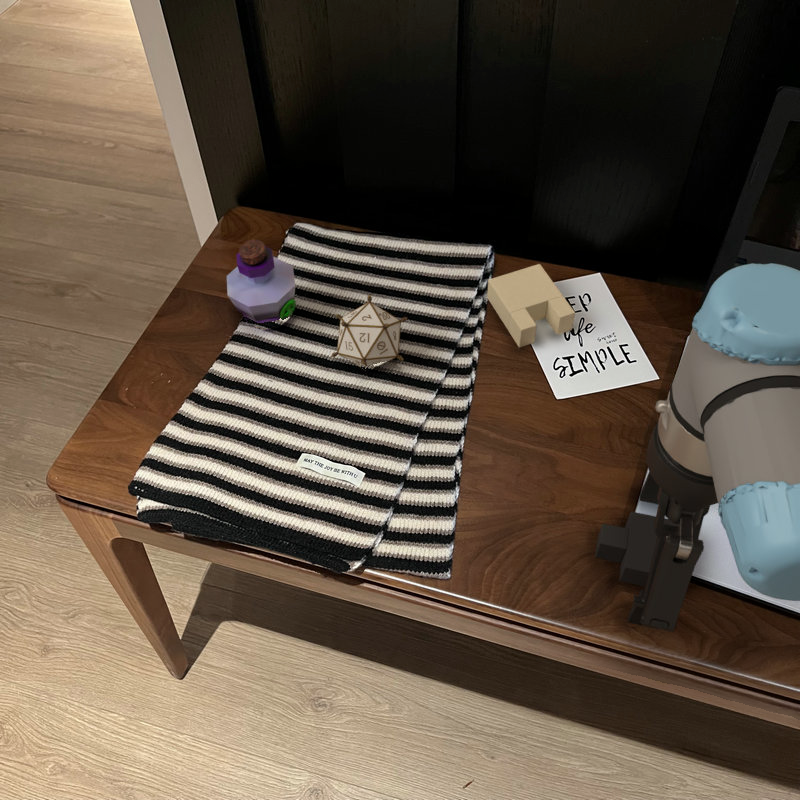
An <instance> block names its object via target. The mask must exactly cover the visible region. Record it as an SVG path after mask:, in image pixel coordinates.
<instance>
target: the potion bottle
mask: <svg viewBox="0 0 800 800" xmlns="http://www.w3.org/2000/svg"><path fill="white" fill-rule="evenodd" d="M226 291H227V293H226V294H227V297H228V299H229V300H230V301H231V303H232V304H233V306H234V307H235V309H236V310H237V311H238V313H240V314H242V316H243V317H244V318H245V317H247V318H249V319H251V320H253V321H255V322H257V323H264V322H269V321H276V320H279V319H280V318H281V319H282V320H284V319H286V318H288V317H289V316H290V315H291V316H292V315H293V313H294V312H295V311H296V304H297V302H296V300H295V293H296V281H295V272H294V266H293V265H292V264H290V263H287V262H285V261H283V260H282V259H279V258H278V257H275V256H274V253H273V249H272V248H270V247H268V246H266V244H265V242H263V240H260V239H255V238H254V239H250V240H247V241H245V242H243V243H242V244H241V246H240V247H239V248H238V253H236V267H235V268H234V269H233V270H232V271H230V272H229V273H228V274H227V275H226ZM245 320H246V321H247V319H246V318H245Z"/></svg>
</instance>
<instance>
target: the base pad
mask: <svg viewBox="0 0 800 800" xmlns="http://www.w3.org/2000/svg"><path fill="white" fill-rule="evenodd" d="M486 294H487V295H486V298H487V299H488V301H489V302H490V304H491V306H492V307H493V309H494V310H495V312H496V314H497V315H498V317H499V319H500V321H502V323H503V325H504V326H505V328H506V329H507V331H508V333H509V334H510V335H511V337H512V339H513V340H514V342H515V344H516V345H517V347H518V348H523V347H525V346H528V345H531V344H534V343H535V341H536V340H535V339H536V332H537V327H538V325H537V323H536V322H539V321H540V320H543V319H545V320H546V321H547V323H548V325H549V326H550V327H551V329H552V330H553V331H554V333H555V334H556V335H557V336H559V335H561V334H565V333H567V332H568V333H569V332H570V331H573V327H574V326H573V325H574V320H575V316H576V311H575V310H574V309H573V307H572V305H570V303H569V302H568V301H567V299H566V298H565V297H564V295H563V294H562V292H561V291H560V290H559V288H558V287H557V285H556V284H555V283H554V281H553V279H552V278H551V277H550V275H549V274H548V273H547V271H545V268H544V267H543V266H542V265H541V264H540V263H536V264H535V265H531V266H528V267H525V268H522V269H519V270H515V271H512V272H509V273H506V274H502V275H499V276H496V277H493V278H490V279H488V280H487V293H486Z"/></svg>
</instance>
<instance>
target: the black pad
mask: <svg viewBox="0 0 800 800" xmlns="http://www.w3.org/2000/svg"><path fill="white" fill-rule="evenodd" d="M628 515H629V516H628V518H627V521H626V522H625V525H624V526H623V527H622V526H618V525H613V524H608V523H602V524H601V526H600V530H599V532H598V536H597V539H596V545H595V554H594V558H596V559H601V560H605V561H610V562H614V563H618V564H620V570H619V582H621V583H626V584H632V585H636V586H640V587H646V583H647V579H648V574H649V570H650V566H651V562H652V558H653V553H654V549H655V545H656V541H657V537H658V536H657V535H656V534H655V530H654V522H655V518H656V515H651V514H646V513H642V512H636V511H630V513H629V514H628ZM663 523H664V524H668V525H672V526H677V527H678V524H674V523H673V522H672V521H670V520H669V519H668V518H667V517H666V518H664V522H663Z"/></svg>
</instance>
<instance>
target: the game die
mask: <svg viewBox="0 0 800 800" xmlns="http://www.w3.org/2000/svg"><path fill="white" fill-rule="evenodd" d="M366 298H367V302H365V303H364V304H362V305H361V306H359V307H357V308H355V309H354V310H352V311H350V312H348V313H347V314H344V316H342V315H341V314H339V313H338V314H337V313H336V314H335V318H336V319H338V320H339V327H338V328H339V330H338V339H337V348H336V352H335V351H334V352H332V353H331V355H330V357H331V358H336V357H337V356H340V357H342V358H343V359H345V358H346V360H347V359H349V360H351V361H354V362H356V363H359V364H362V365H364V366H369V365H373V364H377V363H380V362H385V361H389V362H391V361H392V360H394V359H396V358H397V360H399V362H401V361H403V362H404V361H405V360H404V357H403V356H402V355H400V353H399V350H400V339H401V328H402V327H401V326H402V323H404V322H406V321H407V319H408V317H407V316H403V317H401V318H397V317H396V316H394V314H393V315H392V313H389V312H388V311H386V310H384V309H383V308H381V307H380V306H378V305H376V304H375V303H373V302H372V300H373V297H372V296H371V294H370V293H369V295H368V296H366ZM349 360H348V361H349ZM354 365H355V366H357V367H359V368H360V369H362V370H364V369H363V368H361V366H360V365H358V364H354ZM365 369H366V368H365Z"/></svg>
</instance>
